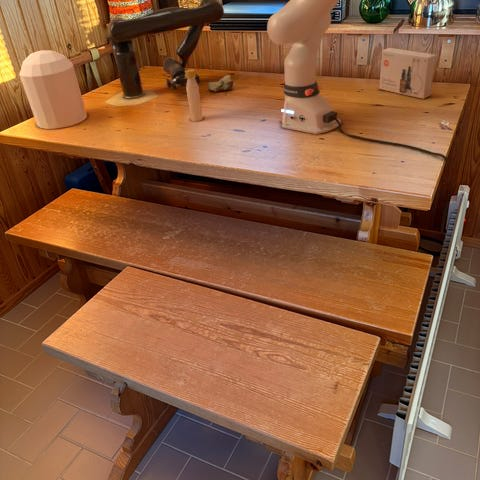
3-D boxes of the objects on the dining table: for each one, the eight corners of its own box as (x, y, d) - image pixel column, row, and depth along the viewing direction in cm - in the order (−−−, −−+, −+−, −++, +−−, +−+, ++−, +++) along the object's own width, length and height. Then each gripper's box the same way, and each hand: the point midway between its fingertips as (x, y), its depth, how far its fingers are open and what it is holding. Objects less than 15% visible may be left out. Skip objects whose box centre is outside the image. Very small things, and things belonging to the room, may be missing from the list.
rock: (207, 90, 217) (212, 93, 208) (206, 76, 214) (210, 78, 205) (229, 87, 219) (235, 90, 210) (228, 73, 216) (233, 75, 207)
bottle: (201, 116, 186) (195, 69, 176) (203, 120, 182) (197, 72, 172) (189, 118, 186) (182, 71, 175) (191, 122, 182) (184, 74, 171)
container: (71, 129, 186) (49, 56, 170) (26, 128, 191) (0, 58, 175) (96, 110, 202) (78, 43, 186) (54, 111, 207) (33, 45, 191)
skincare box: (377, 89, 194) (381, 50, 185) (385, 86, 197) (389, 47, 188) (423, 99, 180) (429, 56, 171) (430, 95, 183) (437, 53, 174)
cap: (195, 74, 176) (194, 68, 175) (196, 77, 173) (195, 71, 172) (185, 76, 176) (184, 70, 175) (186, 78, 173) (185, 72, 171)
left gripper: (162, 70, 205) (167, 79, 192) (193, 64, 208) (200, 73, 195) (165, 87, 210) (170, 97, 197) (196, 81, 212) (203, 91, 199)
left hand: (185, 85), depth 196 cm, fingers open, 8 cm apart
